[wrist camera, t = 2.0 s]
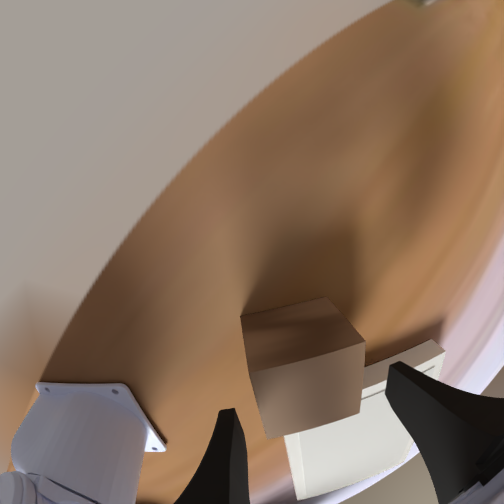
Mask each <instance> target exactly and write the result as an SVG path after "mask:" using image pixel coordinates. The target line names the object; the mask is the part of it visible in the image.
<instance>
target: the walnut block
mask: <svg viewBox="0 0 504 504" xmlns="http://www.w3.org/2000/svg"><path fill="white" fill-rule="evenodd" d="M240 318H241V325H242V332H243V339H244V345H245V352H246V359H247V365H248V371H249V376H250V380H251V383H252V387H253V391H254V394H255V398H256V402H257V405H258V409H259V412H260V416H261V420H262V423H263V427H264V430H265V434H266V437H267V439H272V438H276V437H281V436H285V435H290V434H294V433H298V432H302V431H305V430H309V429H313V428H316V427H320V426H323V425H326V424H329V423H333V422H336V421H339V420H342V419H345V418H347V417H350V416H353V415H356V414H359V413H360V406H361V397H362V387H363V376H364V363H365V346H366V341H365V340H364V339H363V338H362V336H361V335H360V334H359V333H358V332H357V331H356V329H355V328H354V327H353V326H352V325H351V324H350V322H349V321H348V320H347V319H346V318H345V317H344V316H343V314H342V313H341V312H340V311H339V310H338V309H337V307H336V306H335V305H334V304H333V303H332V302H331V301H330V299H329V298H328V297H327V296H326V297H322V298H318V299H314V300H310V301H306V302H302V303H298V304H294V305H289V306H285V307H281V308H276V309H272V310H267V311H263V312H258V313H253V314H248V315H243V316H240Z"/></svg>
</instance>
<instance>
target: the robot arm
mask: <svg viewBox="0 0 504 504" xmlns="http://www.w3.org/2000/svg"><path fill="white" fill-rule="evenodd" d="M36 388H37V390H38V392H39V393H40V395H39V397H38V398H37V400H36V401H35V403H34V404H33V406H32V407H31V409H30V411H29V412H28V414H27V415H26V417H25V419H24V420H23V422H22V423H21V425H20V427H19V428H18V430H17V432H16V434H15V435H14V438H13V440H12V445H11V456H12V461H13V465H14V467H15V469H16V471H13V472H5V473H2V474H1V475H0V504H135V502H136V496H137V490H138V484H139V478H140V473H141V467H142V462H143V457H144V452H145V451H147V452H164V451H166V448H167V446H166V445H165V443H164V442H163V441H162V439H161V438H160V436H159V435H158V434H157V432H156V431H155V429H154V428H153V426H152V425H151V423H150V422H149V420H148V419H147V417H146V416H145V414H144V413H143V411H142V410H141V408H140V406H139V405H138V403H137V401H136V400H135V398H134V396H133V395H132V393H131V391H130V390H129V388H128V387H127V386H126V385H125V384H122V383H112V384H67V383H46V382H37V384H36ZM116 390H117V391H116ZM385 396H386V398H387V400H388V402H389V404H390V406H391V408H392V410H393V411H394V413H395V414H396V416H397V417H398V419H399V420H400V421H401V423H402V424H403V426H404V427H405V429H406V430H407V431H408V433H409V434H410V436H411V437H412V439H413V440H414V442H415V443H416V445H417V447H418V449H419V451H420V453H421V455H422V457H423V459H424V461H425V464H426V466H427V468H428V471H429V473H430V476H431V479H432V481H433V484H434V487H435V491H436V494H437V498H438V502H439V504H504V398H493V397H487V396H481V395H476V394H472V393H469V392H465V391H462V390H459V389H456V388H454V387H451V386H449V385H446V384H444V383H442V382H440V381H437V380H435V379H433V378H431V377H429V376H427V375H426V374H424V373H422V372H420V371H418V370H416V369H414V368H413V367H411V366H409V365H407V364H405V363H403V362H402V361H398V362H396V363H393V364H391V365H389V370H388V377H387V383H386V389H385ZM174 504H250V500H249V488H248V462H247V448H246V442H245V436H244V432H243V429H242V427H241V424H240V421H239V419H238V416H237V413H236V411H235V408H231V409H224V410H220V411H219V413H218V418H217V422H216V425H215V429H214V432H213V435H212V437H211V440H210V443H209V445H208V448H207V450H206V452H205V455H204V457H203V459H202V461H201V463H200V465H199V467H198V469H197V471H196V473H195V474H194V476H193V478H192V479H191V481H190V482H189V484H188V485H187V487H186V488H185V490H184V491H183V493H182V494H181V495H180V497H179V498H178V499H177V500H176V501H175V503H174Z"/></svg>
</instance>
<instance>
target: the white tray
mask: <svg viewBox="0 0 504 504" xmlns="http://www.w3.org/2000/svg"><path fill="white" fill-rule="evenodd" d="M445 353H446V351H445V350H444V349H443V348H442V347H440V346H439V345H438V344H437V343H436V342H435V341H433V340H432V339H430V340H428V341H426V342H424V343H422V344H420V345H418V346H415V347H413V348H411V349H409V350H406V351H404V352H402V353H400V354H397V355H395V356H392V357H390V358H387V359H385V360H382V361H380V362H377V363H375V364H372V365H369V366H367V367H364V376H363V387H362V397H361V406H360V413H359V414H356V415H353V416H350V417H347V418H345V419H342V420H339V421H336V422H333V423H329V424H326V425H323V426H320V427H316V428H313V429H309V430H305V431H302V432H298V433H294V434H290V435H285V436H283V437H284V442H285V447H286V452H287V457H288V461H289V466H290V471H291V475H292V480H293V485H294V489H295V493H296V497H297V501H298V500H302V499H306V498H310V497H314V496H318V495H321V494H325V493H328V492H331V491H334V490H338V489H341V488H344V487H347V486H349V485H352V484H355V483H358V482H360V481H363V480H365V479H368V478H370V477H373V476H375V475H377V474H380V473H382V472H384V471H386V470H389V469H391V468H393V467H395V466H397V465H399V464H401V463H403V462H404V461H405V459H406V457H407V455H408V453H409V451H410V449H411V447H412V445H413V443H414V440H413V439H412V437H411V436H410V434H409V433H408V431H407V430H406V429H405V427H404V426H403V424H402V423H401V421H400V420H399V419H398V417H397V416H396V414H395V413H394V411H393V410H392V408H391V406H390V404H389V402H388V400H387V398H386V396H385V389H386V383H387V377H388V370H389V365H391V364H393V363H396V362H398V361H402V362H403V363H405V364H407V365H409V366H411V367H413V368H414V369H416V370H418V371H420V372H422V373H424V374H426V375H427V376H429V377H431V378H433V379H435V380H437V381H438V378H439V374H440V371H441V368H442V364H443V360H444V357H445Z"/></svg>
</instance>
